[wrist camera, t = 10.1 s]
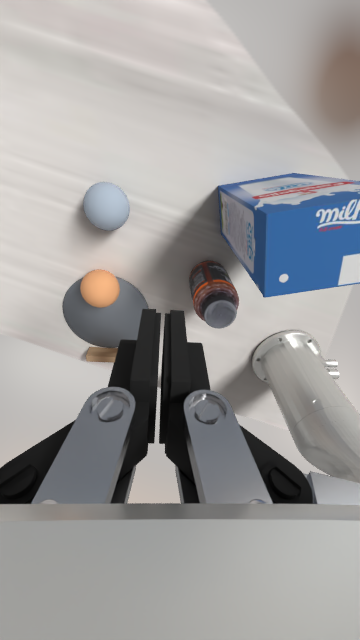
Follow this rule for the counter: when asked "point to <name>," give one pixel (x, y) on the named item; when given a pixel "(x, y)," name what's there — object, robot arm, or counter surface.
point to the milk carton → (294, 231)
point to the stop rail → (101, 354)
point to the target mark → (105, 316)
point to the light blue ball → (106, 206)
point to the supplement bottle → (213, 294)
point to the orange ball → (100, 288)
